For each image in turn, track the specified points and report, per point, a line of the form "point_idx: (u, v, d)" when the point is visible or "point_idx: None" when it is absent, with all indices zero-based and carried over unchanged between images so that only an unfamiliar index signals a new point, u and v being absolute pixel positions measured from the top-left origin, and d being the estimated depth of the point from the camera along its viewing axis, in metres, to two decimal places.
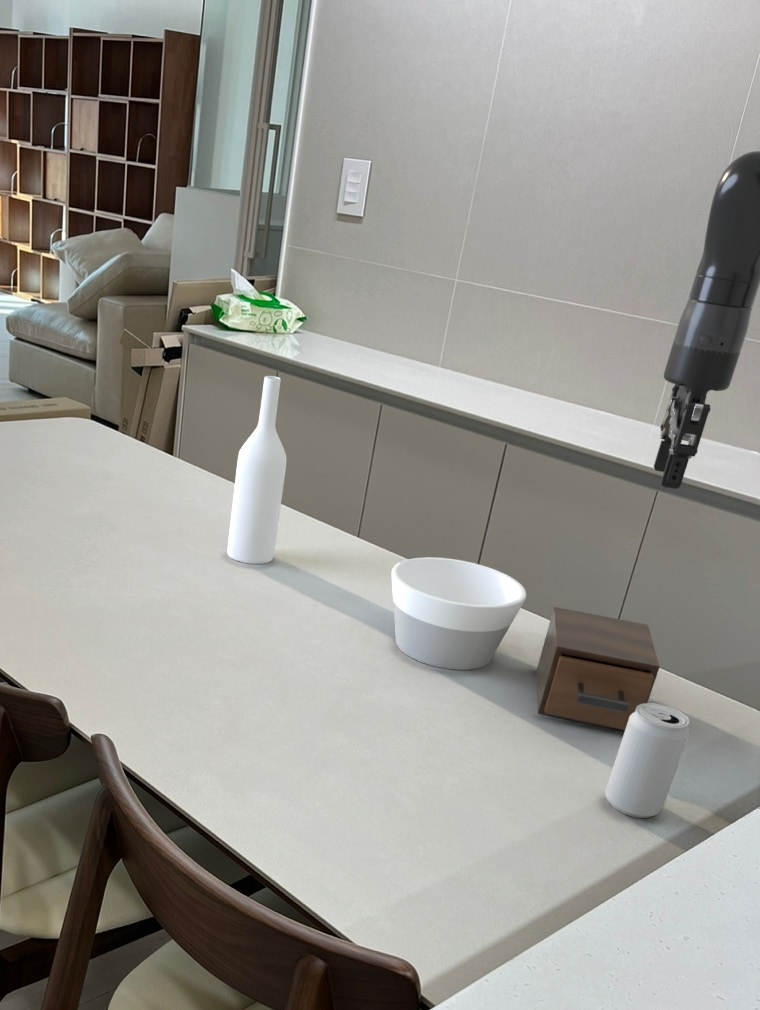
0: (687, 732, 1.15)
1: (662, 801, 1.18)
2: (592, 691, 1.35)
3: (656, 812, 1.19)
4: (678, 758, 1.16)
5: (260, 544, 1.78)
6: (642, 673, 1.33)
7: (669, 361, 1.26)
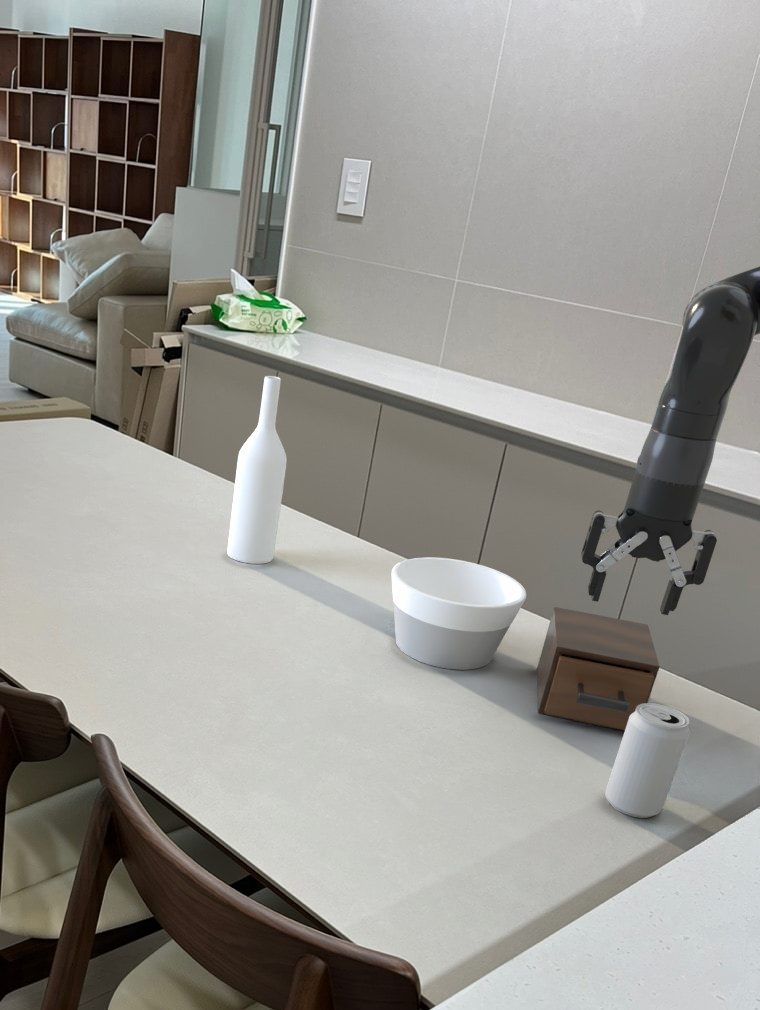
0: (687, 732, 1.15)
1: (662, 801, 1.18)
2: (592, 691, 1.35)
3: (656, 812, 1.19)
4: (678, 758, 1.16)
5: (260, 544, 1.78)
6: (642, 673, 1.33)
7: None
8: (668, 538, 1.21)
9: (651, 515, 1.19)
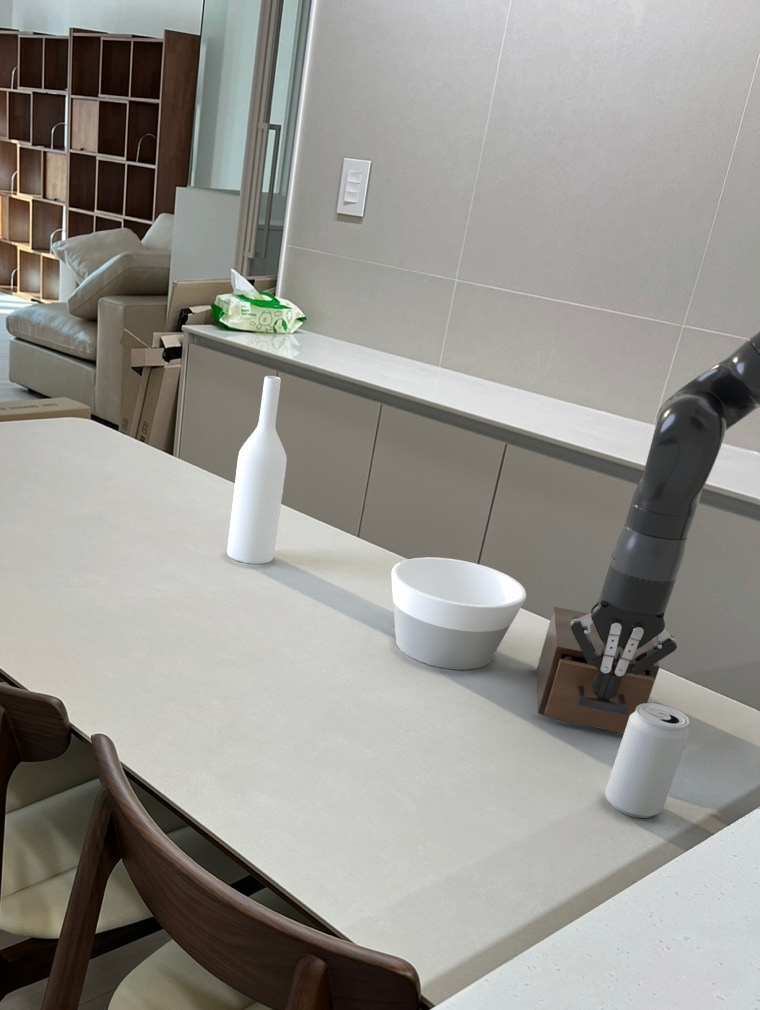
0: (687, 732, 1.15)
1: (662, 801, 1.18)
2: (592, 694, 1.35)
3: (656, 812, 1.19)
4: (678, 758, 1.16)
5: (260, 544, 1.78)
6: (643, 676, 1.33)
7: None
8: (642, 632, 1.25)
9: (624, 609, 1.23)
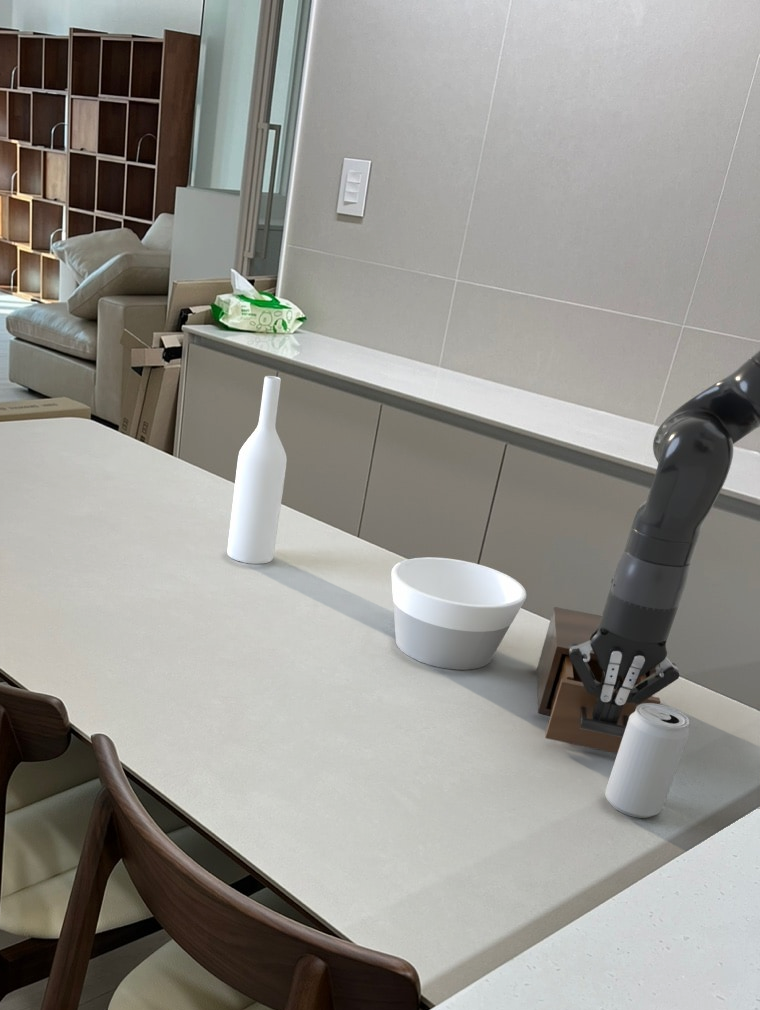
0: (687, 732, 1.15)
1: (662, 801, 1.18)
2: None
3: (656, 812, 1.19)
4: (678, 758, 1.16)
5: (260, 544, 1.78)
6: None
7: None
8: (643, 660, 1.21)
9: (625, 637, 1.18)
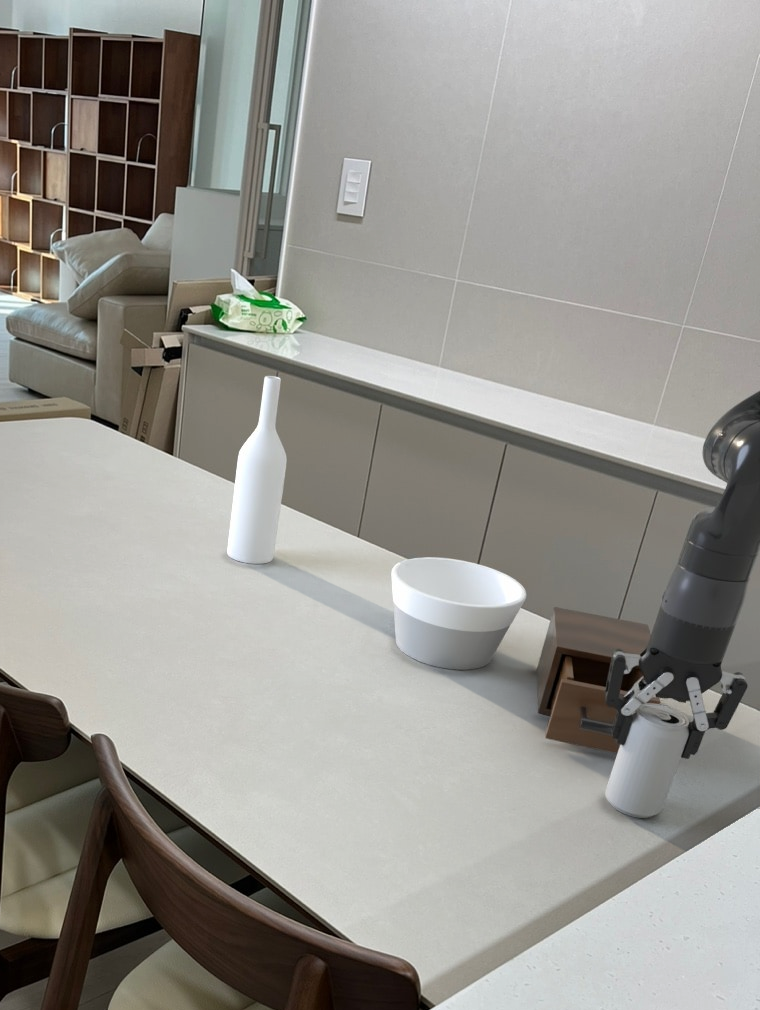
0: (687, 732, 1.15)
1: (662, 801, 1.18)
2: (595, 716, 1.29)
3: (656, 812, 1.19)
4: (678, 758, 1.16)
5: (260, 544, 1.78)
6: None
7: None
8: (696, 680, 1.11)
9: (678, 658, 1.09)
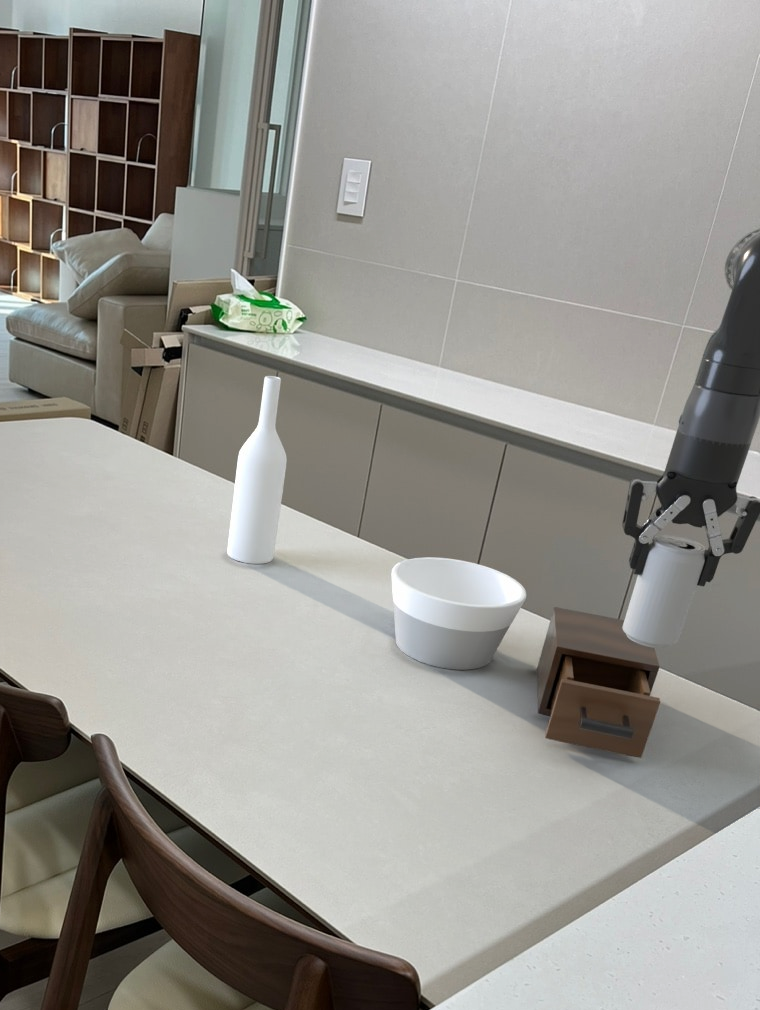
0: (703, 558, 1.18)
1: (679, 630, 1.21)
2: (595, 716, 1.29)
3: (673, 641, 1.22)
4: (694, 585, 1.19)
5: (260, 544, 1.78)
6: (648, 697, 1.27)
7: None
8: (712, 502, 1.15)
9: (695, 477, 1.12)
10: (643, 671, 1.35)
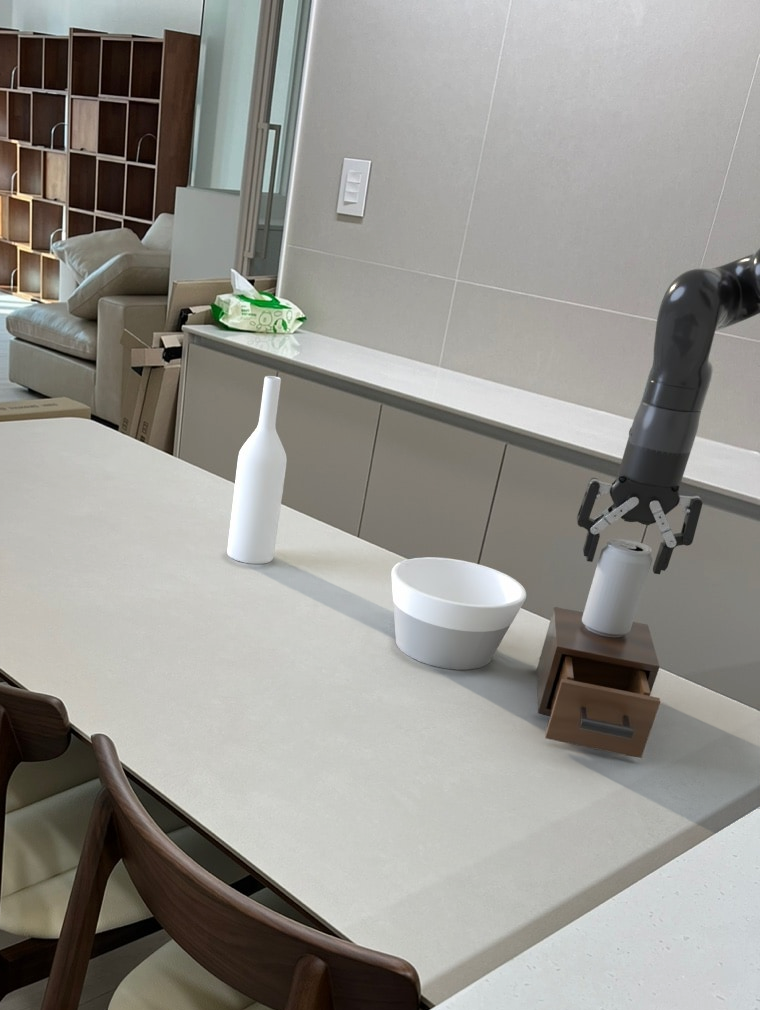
0: (650, 559, 1.36)
1: (629, 621, 1.39)
2: (595, 716, 1.29)
3: (624, 631, 1.40)
4: (642, 582, 1.37)
5: (260, 544, 1.78)
6: (648, 697, 1.27)
7: None
8: (657, 503, 1.32)
9: (642, 481, 1.30)
10: (643, 671, 1.35)
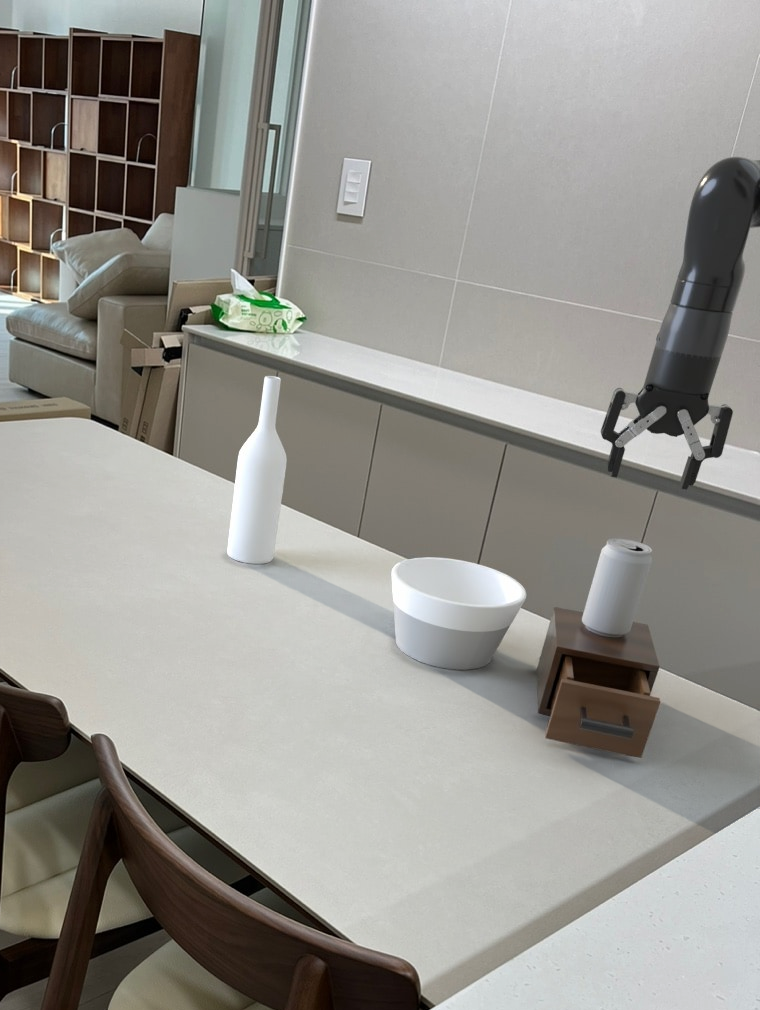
0: (650, 559, 1.36)
1: (629, 621, 1.39)
2: (595, 716, 1.29)
3: (624, 631, 1.40)
4: (642, 582, 1.37)
5: (260, 544, 1.78)
6: (648, 697, 1.27)
7: None
8: (686, 412, 1.27)
9: (670, 388, 1.25)
10: (643, 671, 1.35)
